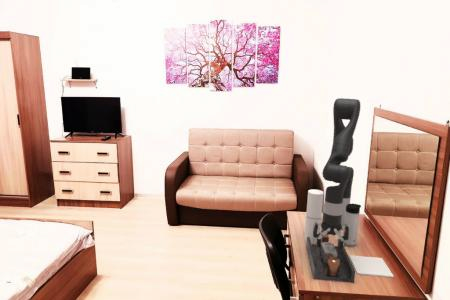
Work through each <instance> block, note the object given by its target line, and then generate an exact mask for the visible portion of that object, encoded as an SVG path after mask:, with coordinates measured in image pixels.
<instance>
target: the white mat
mask: <svg viewBox="0 0 450 300" xmlns="http://www.w3.org/2000/svg"><path fill="white" fill-rule="evenodd" d="M348 256H349V258H350V261H351V263H352V265H353V267H354V269H355V273H356V274H357V275H359V276H371V277H379V278H380V277H382V278H394V277H395V276H394V274H393V273H392V271H391V270H390V268H389V267H388V265H387V263H386V262H385V260H384V259H383V257H376V256H375V257H374V256H362V255H361V256H360V255H348Z"/></svg>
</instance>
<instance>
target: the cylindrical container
mask: <svg viewBox="0 0 450 300" xmlns="http://www.w3.org/2000/svg"><path fill="white" fill-rule="evenodd" d="M306 203H307V204H306V212H305V213H306V216H305V227H304V229H305V231H304V241H305V242H307V237H310V241H311V244H317V238H314V236H313V229H314V223H315V222H317V223H319V224H321V223H322V218H323V207H324V191H323V190H320V189H309V190H308V191H307V202H306ZM321 229H322V227H319V229H317V234H318V233H319V232H320V231H321Z"/></svg>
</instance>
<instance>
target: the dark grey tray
mask: <svg viewBox="0 0 450 300" xmlns="http://www.w3.org/2000/svg"><path fill="white" fill-rule="evenodd" d="M329 239H330V237H329V235H327V234H325V235H324V236H323V237H322V238H321V243H324V242H329ZM339 239H340V238H338V239H337V244H336V245H334V247H335V249H336V252H337V258H336V257H329V258H328V262H324V260H323V256H322V253H321V245H320V247H318V246H317V243H311V241H310V237H307V242H306V241H305V242H306V246H305V248H306V252H307V256H308V259H309V260H308V261H309V265H310V269H311V273H312V278H313V280H321V281H333V282H342V283H343V282H344V283H355V277H356V270H355V268H354V266H353V264H352V262H351V259H350V257H349V255H348V252H347V249H346V248H345V245H344V244H343V247H342V248H341V249H339V247H338V245H339Z"/></svg>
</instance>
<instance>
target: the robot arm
mask: <svg viewBox="0 0 450 300" xmlns="http://www.w3.org/2000/svg"><path fill="white" fill-rule="evenodd" d="M332 111H333V112H332V113H333V114H332V115H333V140H332V141H333V142H332V147H331V151H330V156H329V157H328V160H327V162H326V164H325V166H324V167H323V169H322V174H321V175H322V177H323V180H325V181H327V182H333V183H335V184H337V185H330V186H327V187H326V188H325V196H324V201H323V207H322V219H321V224H319V223H317V222H315V223H314V229H313V236H314V238H317V243H316V244H317V246H318V247H320V245H321V238H322V237H323V236H324V235H325V234H327V235H328V236H331V235H332V236H335V235H336V236H337V238H338V239H339V245H338V244H337V245H338V247H339V249H341V248H342V247H343V245H344V244H343V241H344V240H348V237H349V227H348V225H347V224H345V225H344V220H345V212H346V205H347V204H351V198H352V197H351V196H352V189H353V187H352V186H353V181H354V174H355V173H354V172H355V171H354V168H353V167H351V166H347V165H344V164H343V165H342V163H346V162H347V161H348V160H349V157H350V156H351V154H352V153H353V151H354V150H353V149H354V134H355V131H356V128H357V124H358V121H359V117H360V113H361V101H360V100H359V99H355V98H343V97H342V98H341V97H340V98H339V97H338V98H336V99H335V100H334V103H333V110H332ZM343 120H344V121H345V120H347V121H348V120H349V122H348V124H347V125H346V126H345V124H344V122H343ZM319 227H321V229H320V232H319V233H318V234H317V229H319ZM341 230H344V236H343V234H341V232H340V231H341Z"/></svg>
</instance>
